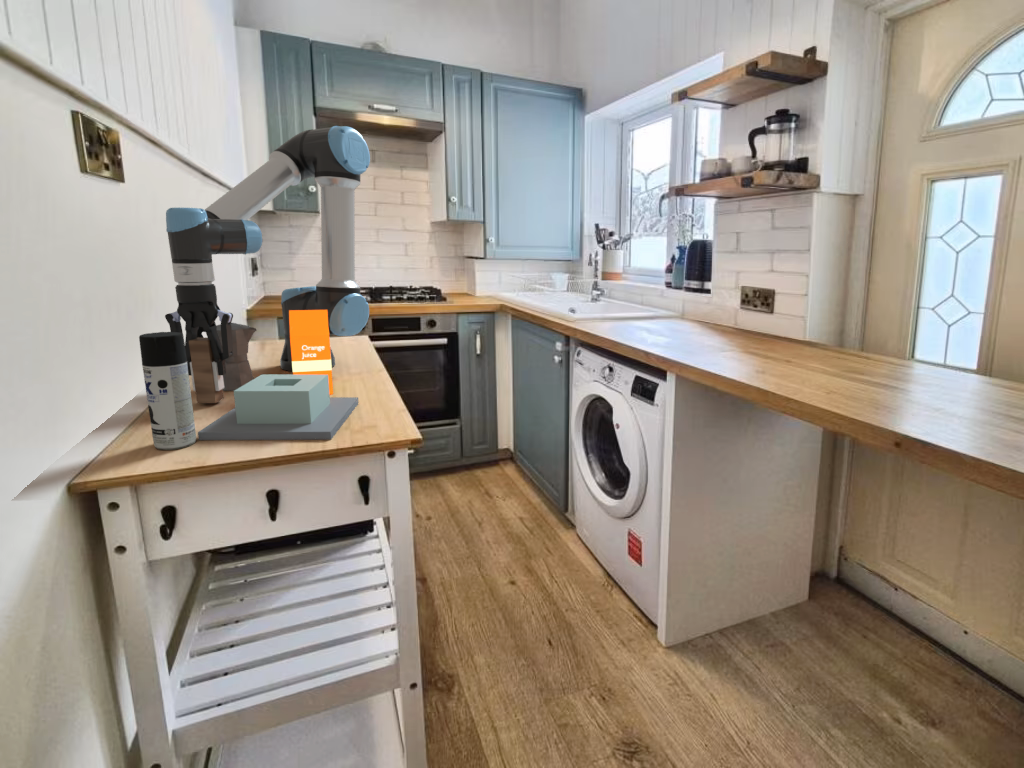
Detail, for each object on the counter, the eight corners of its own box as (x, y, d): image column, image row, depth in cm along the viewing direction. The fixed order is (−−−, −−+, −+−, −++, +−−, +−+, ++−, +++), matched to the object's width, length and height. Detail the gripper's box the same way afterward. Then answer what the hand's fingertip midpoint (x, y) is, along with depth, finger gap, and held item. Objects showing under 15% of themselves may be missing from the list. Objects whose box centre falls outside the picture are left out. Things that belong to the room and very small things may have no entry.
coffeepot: (270, 382, 146) (263, 313, 141) (252, 391, 136) (245, 318, 132) (211, 381, 146) (203, 312, 142) (190, 390, 137) (180, 317, 133)
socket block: (250, 403, 126) (247, 369, 124) (358, 403, 128) (356, 369, 126) (198, 440, 103) (193, 398, 101) (331, 439, 104) (328, 398, 102)
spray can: (151, 442, 101) (134, 333, 96) (193, 435, 106) (179, 330, 101) (157, 453, 96) (140, 338, 92) (201, 445, 101) (187, 334, 96)
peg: (205, 398, 128) (197, 337, 124) (223, 398, 128) (216, 337, 124) (197, 403, 124) (188, 340, 120) (215, 403, 124) (207, 340, 121)
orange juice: (296, 388, 140) (289, 308, 135) (333, 386, 143) (327, 307, 138) (294, 396, 133) (287, 312, 128) (333, 394, 135) (328, 311, 130)
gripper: (143, 284, 115) (160, 394, 121) (228, 285, 116) (241, 393, 122) (163, 281, 123) (178, 385, 128) (243, 282, 123) (254, 384, 129)
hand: (209, 389), depth 125 cm, fingers closed on peg, 4 cm apart
